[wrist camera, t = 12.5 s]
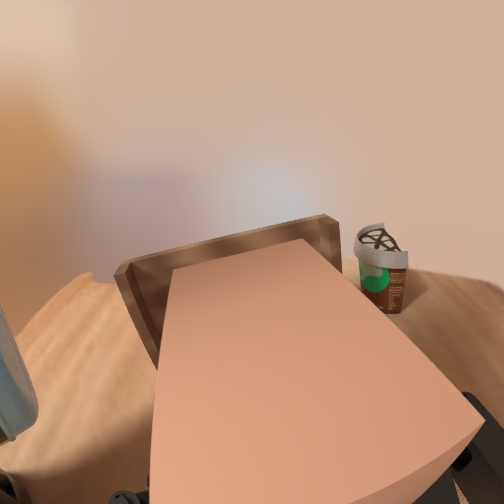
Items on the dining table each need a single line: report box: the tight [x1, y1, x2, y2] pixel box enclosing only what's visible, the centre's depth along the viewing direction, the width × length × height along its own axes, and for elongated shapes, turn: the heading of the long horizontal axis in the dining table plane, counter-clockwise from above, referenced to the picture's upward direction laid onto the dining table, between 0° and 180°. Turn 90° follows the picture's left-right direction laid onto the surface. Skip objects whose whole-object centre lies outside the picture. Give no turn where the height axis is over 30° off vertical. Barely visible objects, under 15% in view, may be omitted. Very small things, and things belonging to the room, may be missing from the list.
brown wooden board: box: [114, 214, 342, 371], centre depth 30 cm, size 22×4×16 cm, turn 101°
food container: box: [353, 223, 408, 314], centre depth 38 cm, size 12×6×10 cm, turn 171°
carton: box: [150, 239, 486, 504], centre depth 9 cm, size 5×9×12 cm, turn 11°
